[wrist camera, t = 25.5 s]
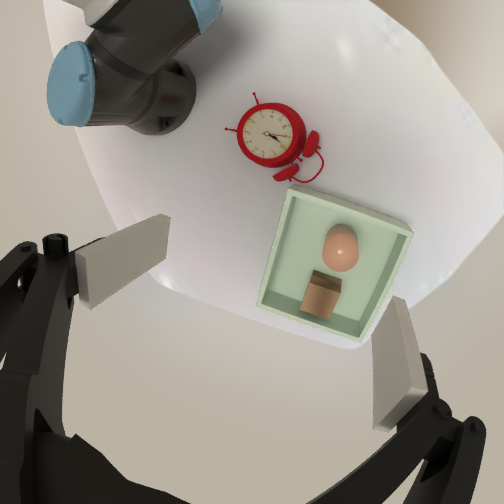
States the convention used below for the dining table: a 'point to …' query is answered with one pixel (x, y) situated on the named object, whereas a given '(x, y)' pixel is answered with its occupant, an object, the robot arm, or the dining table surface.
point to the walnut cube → (321, 294)
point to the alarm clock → (276, 138)
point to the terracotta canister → (340, 248)
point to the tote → (310, 258)
